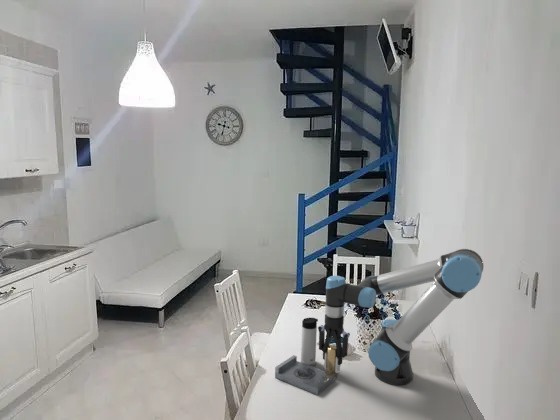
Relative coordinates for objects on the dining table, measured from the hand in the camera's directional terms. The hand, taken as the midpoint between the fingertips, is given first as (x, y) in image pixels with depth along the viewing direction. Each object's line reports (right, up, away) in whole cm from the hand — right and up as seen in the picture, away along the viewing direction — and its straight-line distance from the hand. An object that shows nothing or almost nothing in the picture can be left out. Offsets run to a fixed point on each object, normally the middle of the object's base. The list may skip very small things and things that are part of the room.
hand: (332, 369), depth 175 cm
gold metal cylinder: (0, -3, 0) cm, 3 cm away
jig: (-11, -3, -3) cm, 12 cm away
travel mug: (-9, -1, +10) cm, 14 cm away
